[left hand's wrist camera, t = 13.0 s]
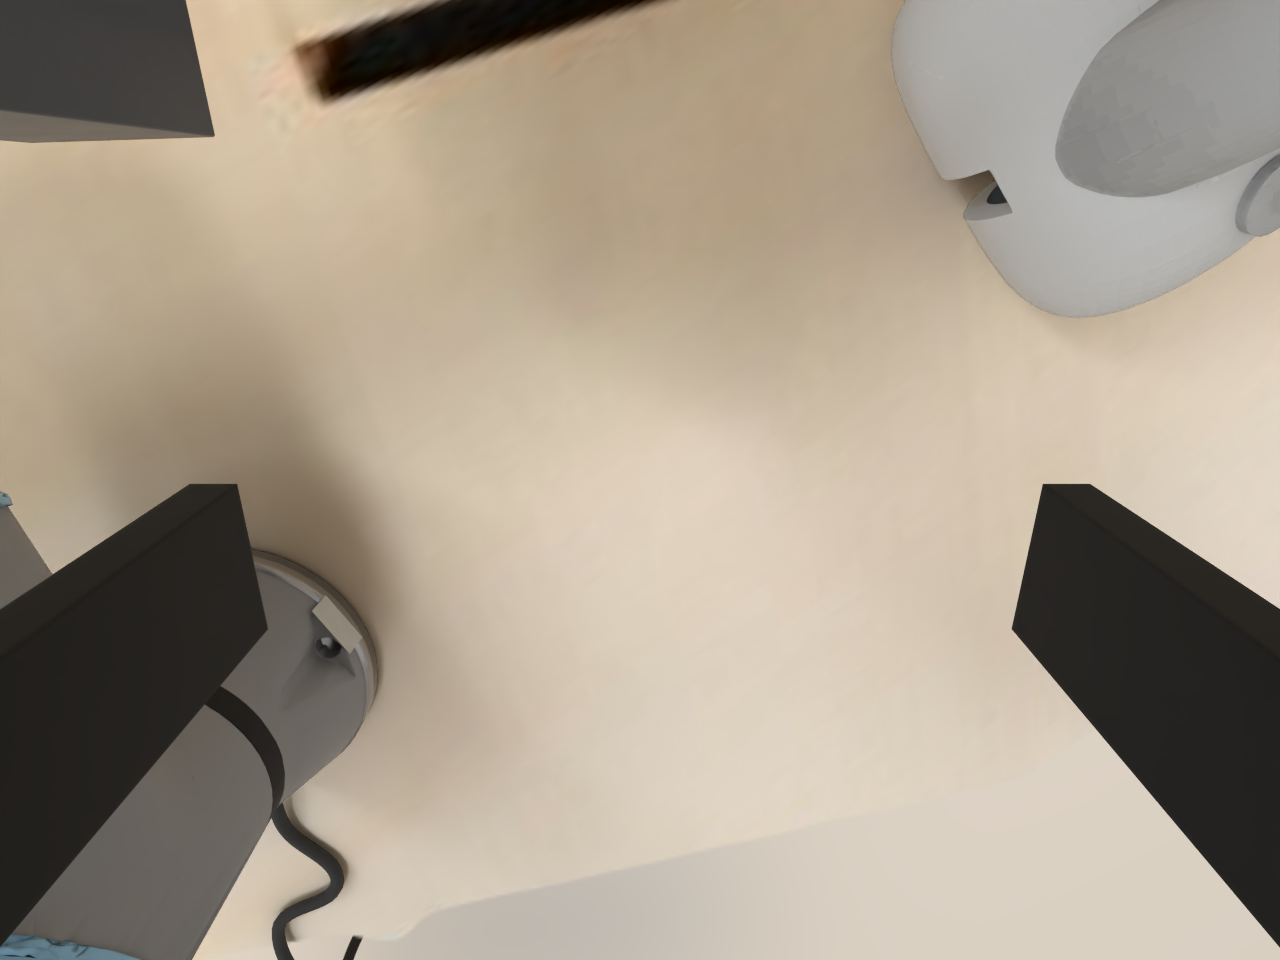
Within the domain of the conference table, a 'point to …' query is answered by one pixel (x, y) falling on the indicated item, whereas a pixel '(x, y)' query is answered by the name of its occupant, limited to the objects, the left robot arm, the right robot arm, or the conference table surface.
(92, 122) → the bar
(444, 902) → the conference table surface
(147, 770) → the left robot arm
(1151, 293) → the projector
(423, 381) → the conference table surface
